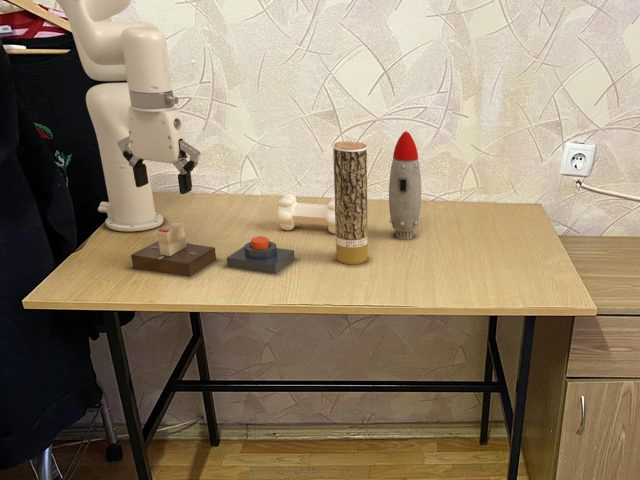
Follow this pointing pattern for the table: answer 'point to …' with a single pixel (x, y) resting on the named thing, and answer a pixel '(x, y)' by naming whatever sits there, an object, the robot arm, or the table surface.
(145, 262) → the panel
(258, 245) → the button
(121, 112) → the robot arm
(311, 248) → the table surface
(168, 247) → the beige block
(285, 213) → the dog bone
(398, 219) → the toy rocket
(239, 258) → the button box
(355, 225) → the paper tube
